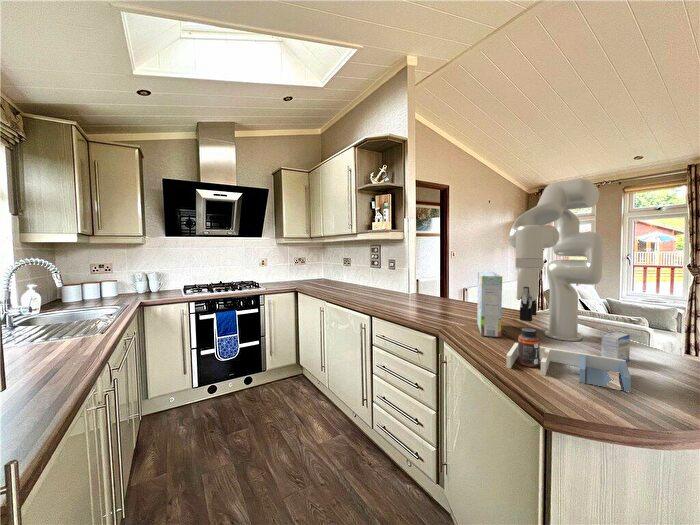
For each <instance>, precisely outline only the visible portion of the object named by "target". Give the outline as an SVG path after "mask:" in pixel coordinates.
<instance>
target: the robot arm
mask: <svg viewBox="0 0 700 525" xmlns="http://www.w3.org/2000/svg"><path fill="white" fill-rule="evenodd" d="M599 200H600V191H599V189H598V187H597V186H596V185H595V184H594V183H593V182H592V181H590V180H588V179H586V178H578V179H577V178H575V179H570V180H565V181H564V180H562V181H557V182H553V183H550V184H548V185H547V186H546V187H545V188H544V189H543V192H542V194H541V195H540V198H539V200H538V202H537V204H536V206H534V207H532V208H530V209H528V210H527V211H525V212H524V213H522V214H521V215H519V216H518V217H517V218H516V219H515V220H514V222H513V224H512V226H511V228H510V231H509V234H508V242H509V244H510V246H511V247H512V248H515V269H516V270H517V271H518V272H517V282H516V284H517V285H516V299H517V301H520V304H519V305H520V307H519V320H520V321H524V322H532V321H533V316H537V307H538V306H537V299H538V297H539V279H540V278H539V276H540V275H539V270H544V249H549V248H552V250H553V253H554V255H556V256H559V257H584V258H586V259H554V260H552V261H550V262H549V263H548V264H547V267H546V272H547V273H546V274H547V279H548V287H549V289H548V290H549V291H548V292H549V307H548V309H549V311H548V312H549V313H548V314H549V315H548V316H549V318H548V319H549V320H548V321H549V322H548V323H549V327H548V329H547V330H545V331H544V335H545V336H546V337H548V338H551V339H553V340H554V339H555V340H559V341H565V342H566V341H567V342H568V341H569V342H576V341H577V342H579V341H581V340H583V334H580V333H579V329H578V328H579V327H578V326H579V318H578V317H579V293H578V291H577V290H576V288H574V287H573V284H574V285H590V286H591V285H592V286H594V285H597V284H599V283H601V280H602V275H603V259H604V255H603V254H604V244H603V243H604V240H603V237H602V236H601V234H600V233H598V232H595V231H585V232H580V224H581V223H580V222H581V221H580V219H579V217H577V216H576V214H575V213H574V212H572V210H578V209H587V208H593V207H595V206H596V205H597V204H598V202H599ZM551 223H553V225H549V224H551Z"/></svg>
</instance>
